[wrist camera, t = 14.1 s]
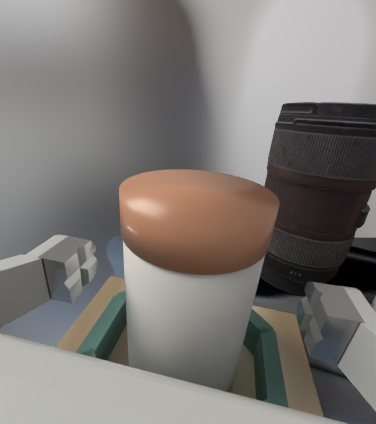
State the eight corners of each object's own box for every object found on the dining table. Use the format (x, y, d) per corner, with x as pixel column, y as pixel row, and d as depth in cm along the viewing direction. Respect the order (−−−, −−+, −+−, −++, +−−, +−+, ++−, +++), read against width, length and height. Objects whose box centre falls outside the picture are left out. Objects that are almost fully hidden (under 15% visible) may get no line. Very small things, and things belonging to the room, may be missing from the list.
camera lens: (289, 244, 28) (330, 107, 22) (353, 290, 21) (439, 111, 15) (230, 253, 25) (259, 99, 19) (282, 310, 18) (353, 98, 12)
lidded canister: (107, 412, 10) (82, 205, 6) (150, 315, 15) (151, 164, 11) (231, 450, 9) (297, 239, 5) (234, 334, 14) (269, 178, 10)
